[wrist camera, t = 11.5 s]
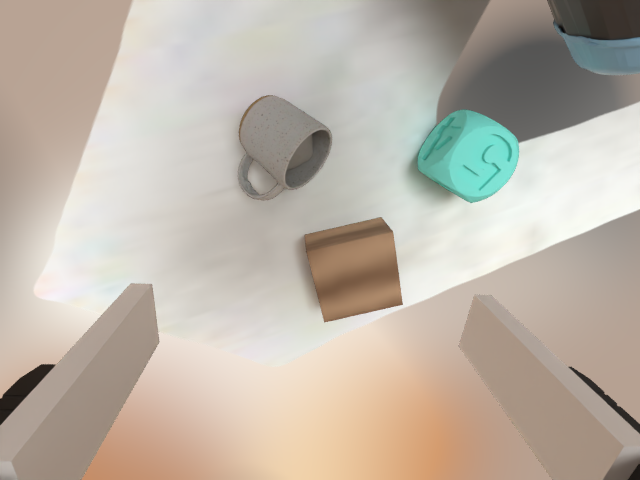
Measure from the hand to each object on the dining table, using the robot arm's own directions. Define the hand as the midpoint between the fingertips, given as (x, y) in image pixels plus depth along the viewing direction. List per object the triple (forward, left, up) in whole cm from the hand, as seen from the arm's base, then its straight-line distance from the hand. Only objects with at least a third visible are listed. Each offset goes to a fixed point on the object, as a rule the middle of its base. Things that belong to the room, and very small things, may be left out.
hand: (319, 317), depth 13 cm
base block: (+12, +8, -31) cm, 34 cm away
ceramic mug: (-3, -3, -31) cm, 31 cm away
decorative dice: (-4, +20, -31) cm, 37 cm away
